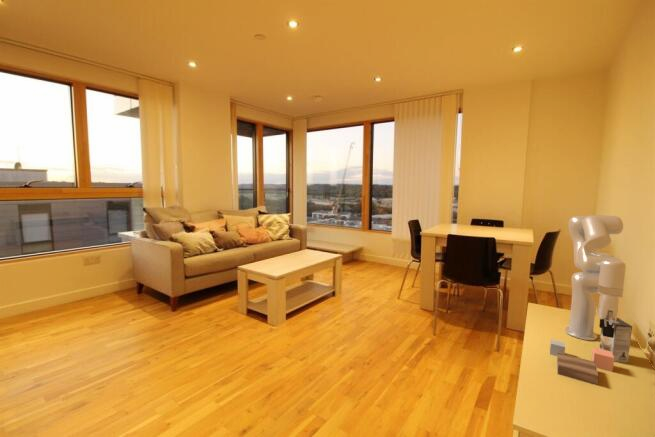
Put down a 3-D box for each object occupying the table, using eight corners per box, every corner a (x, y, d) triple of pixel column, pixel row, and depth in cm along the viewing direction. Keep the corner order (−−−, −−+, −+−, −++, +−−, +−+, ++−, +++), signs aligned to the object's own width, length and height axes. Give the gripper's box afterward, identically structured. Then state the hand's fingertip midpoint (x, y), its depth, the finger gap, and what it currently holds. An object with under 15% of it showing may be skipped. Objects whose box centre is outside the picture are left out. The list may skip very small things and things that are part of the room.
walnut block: (556, 361, 134) (557, 352, 134) (593, 371, 127) (594, 361, 127) (557, 375, 124) (558, 365, 124) (597, 386, 118) (598, 376, 117)
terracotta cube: (591, 360, 135) (592, 347, 134) (610, 365, 131) (611, 351, 131) (593, 367, 130) (594, 353, 129) (612, 372, 126) (614, 357, 126)
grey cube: (549, 349, 143) (550, 339, 143) (563, 353, 140) (564, 342, 140) (549, 354, 139) (550, 343, 139) (564, 358, 136) (565, 347, 136)
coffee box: (597, 350, 143) (601, 316, 142) (614, 352, 142) (618, 317, 141) (611, 361, 134) (615, 324, 133) (629, 363, 133) (633, 326, 132)
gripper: (595, 284, 136) (591, 323, 138) (600, 294, 122) (596, 337, 124) (618, 287, 132) (614, 327, 133) (627, 298, 118) (622, 342, 119)
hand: (606, 332), depth 129 cm, fingers open, 9 cm apart
